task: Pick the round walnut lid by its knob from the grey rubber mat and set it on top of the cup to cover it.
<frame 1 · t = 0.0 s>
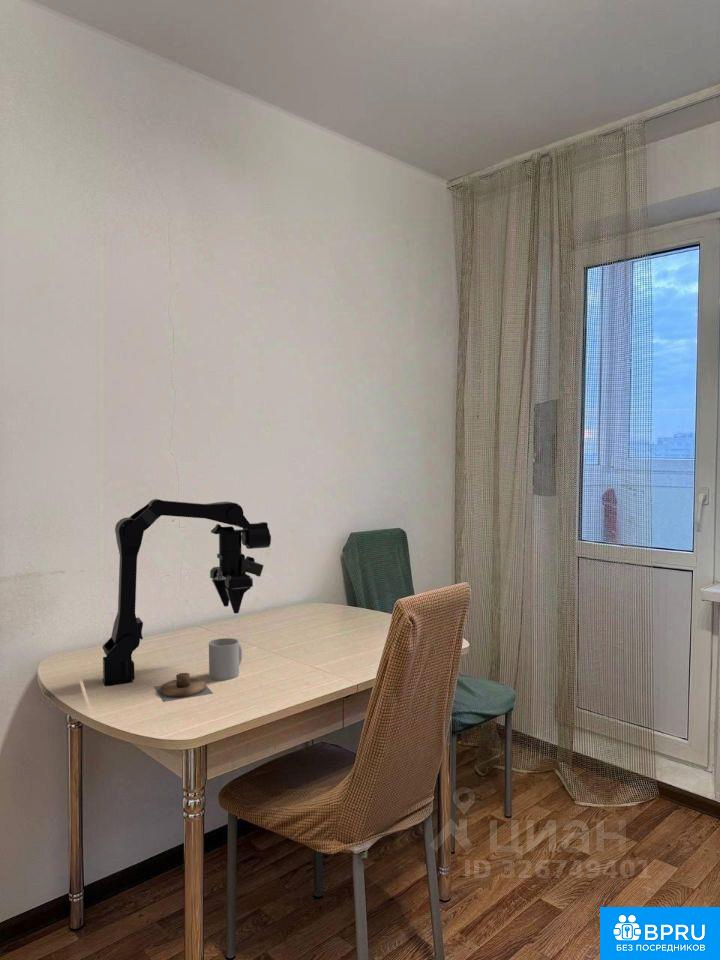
hand: (231, 609, 175), 15 cm above the table, fingers open, 9 cm apart
cup: (228, 677, 167), on the table
lid: (183, 689, 155), point 1 cm above the table, touching mat
mat: (183, 692, 155), on the table
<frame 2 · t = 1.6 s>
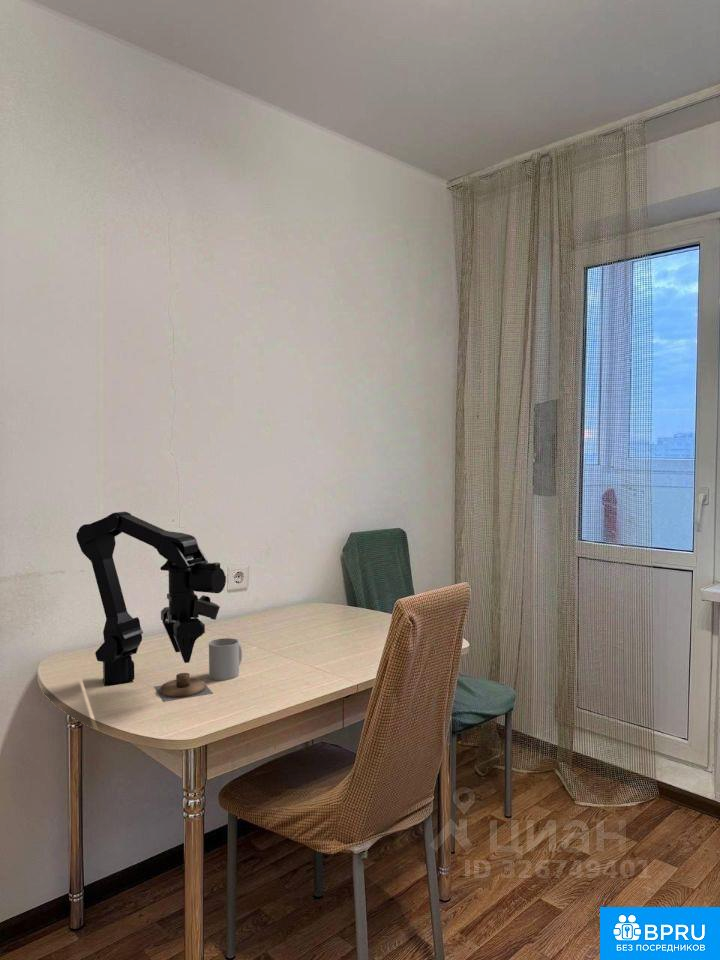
hand: (182, 657, 155), 8 cm above the table, fingers open, 9 cm apart
nothing on the table moved.
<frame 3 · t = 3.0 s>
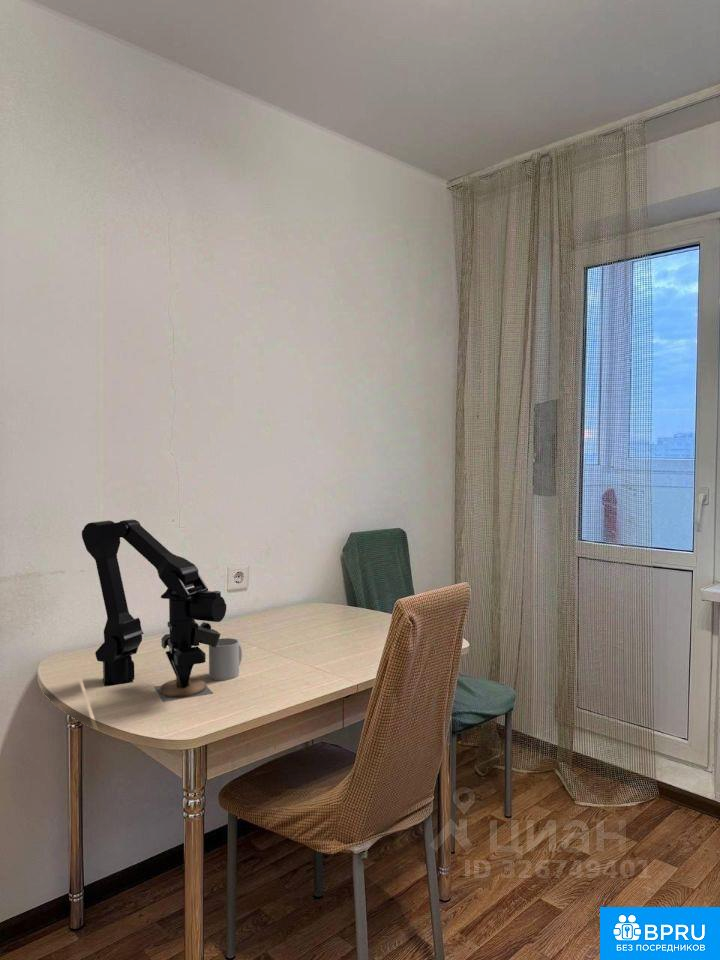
hand: (183, 685, 155), 2 cm above the table, fingers closed on lid, 3 cm apart
lid: (183, 689, 155), point 1 cm above the table, touching gripper, mat
everything else where it was.
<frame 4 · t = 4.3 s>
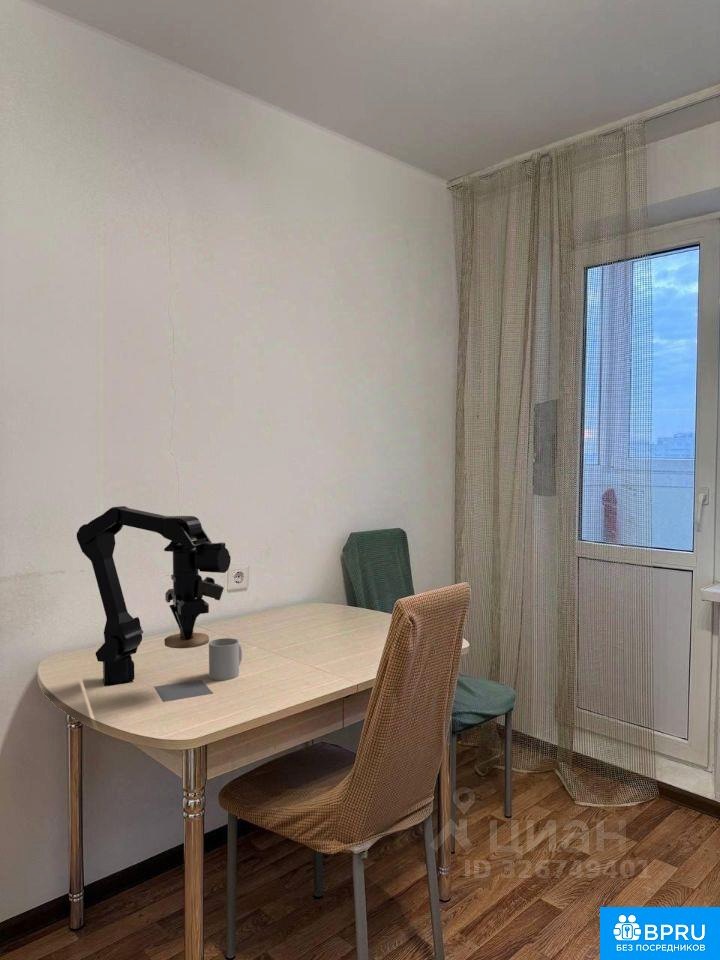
hand: (186, 637, 156), 13 cm above the table, fingers closed on lid, 3 cm apart
lid: (186, 642, 156), point 11 cm above the table, touching gripper
everything else where it was.
when the fingers open (11 cm above the table, at t = 5.6 s): lid stays where it is, resting on cup.
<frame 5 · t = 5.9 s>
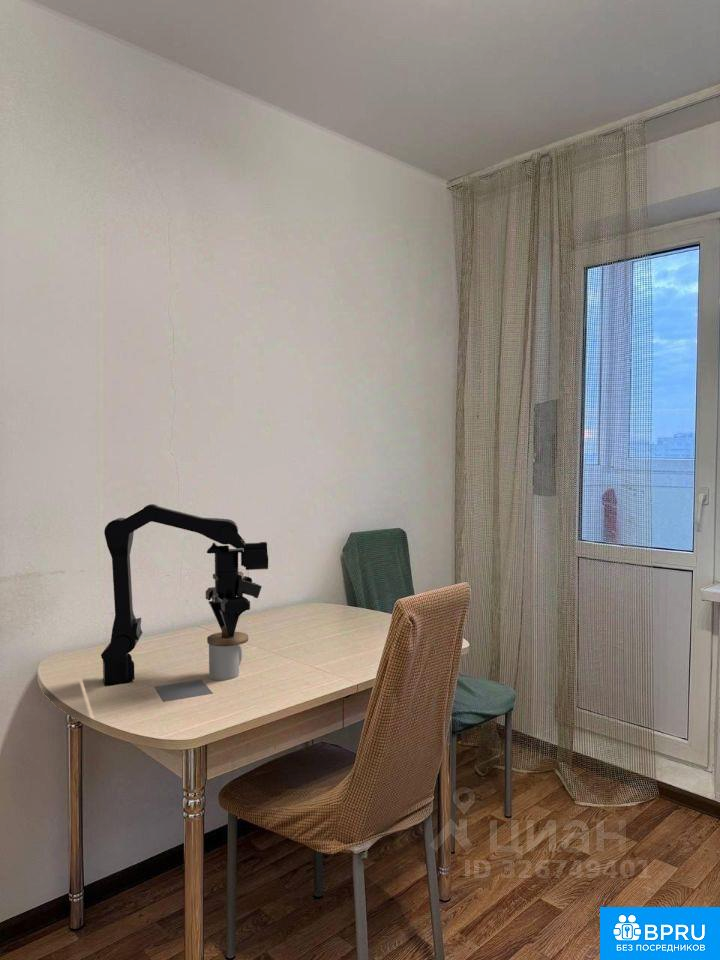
hand: (227, 633, 167), 11 cm above the table, fingers open, 6 cm apart
cup: (228, 677, 167), on the table, touching lid
lid: (227, 640, 167), point 9 cm above the table, touching cup
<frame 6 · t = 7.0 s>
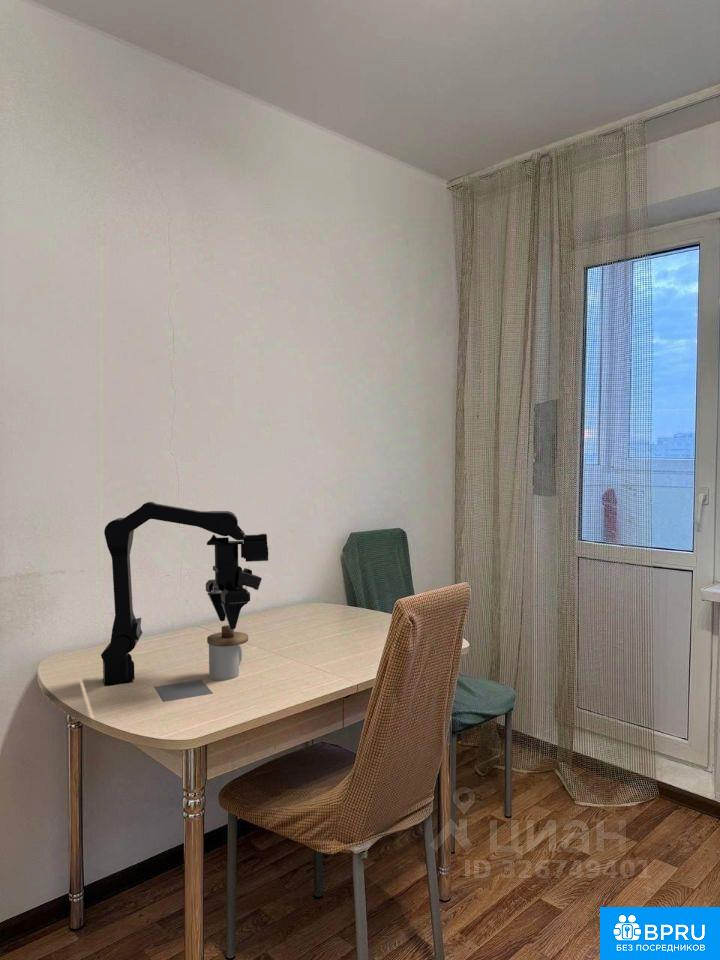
hand: (227, 624, 167), 13 cm above the table, fingers open, 9 cm apart
nothing on the table moved.
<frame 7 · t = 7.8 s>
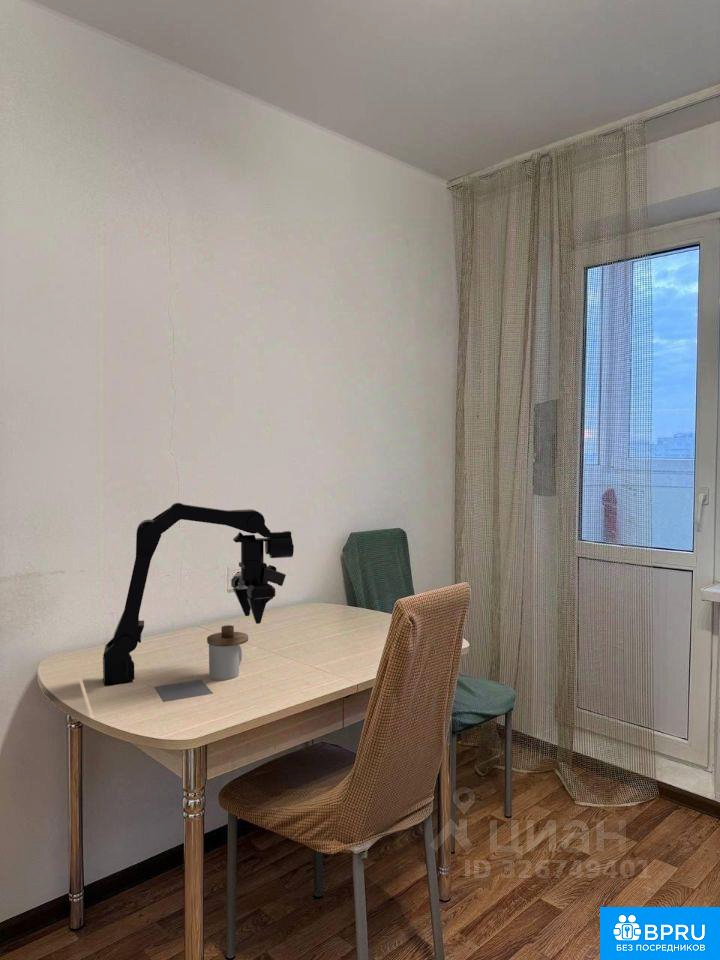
hand: (252, 619, 172), 13 cm above the table, fingers open, 9 cm apart
nothing on the table moved.
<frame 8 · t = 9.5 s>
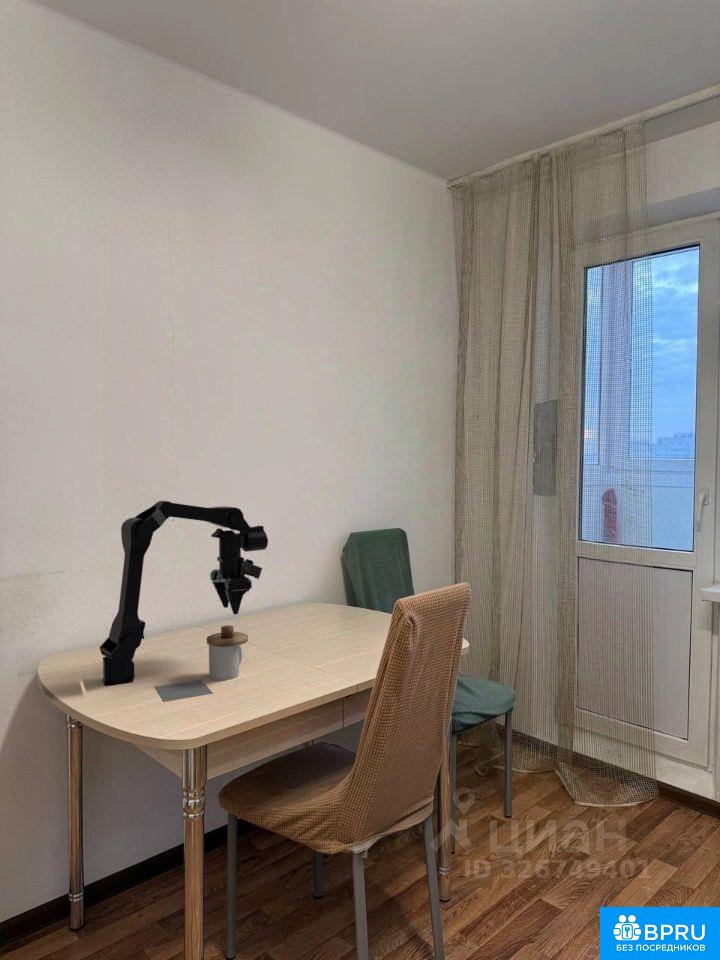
hand: (230, 610, 181), 13 cm above the table, fingers open, 9 cm apart
nothing on the table moved.
at the end: lid inside the target area on the cup (0.2 cm from its centre), point 9.1 cm above the cup's base; the gripper is holding nothing; lid tilted 0° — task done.
